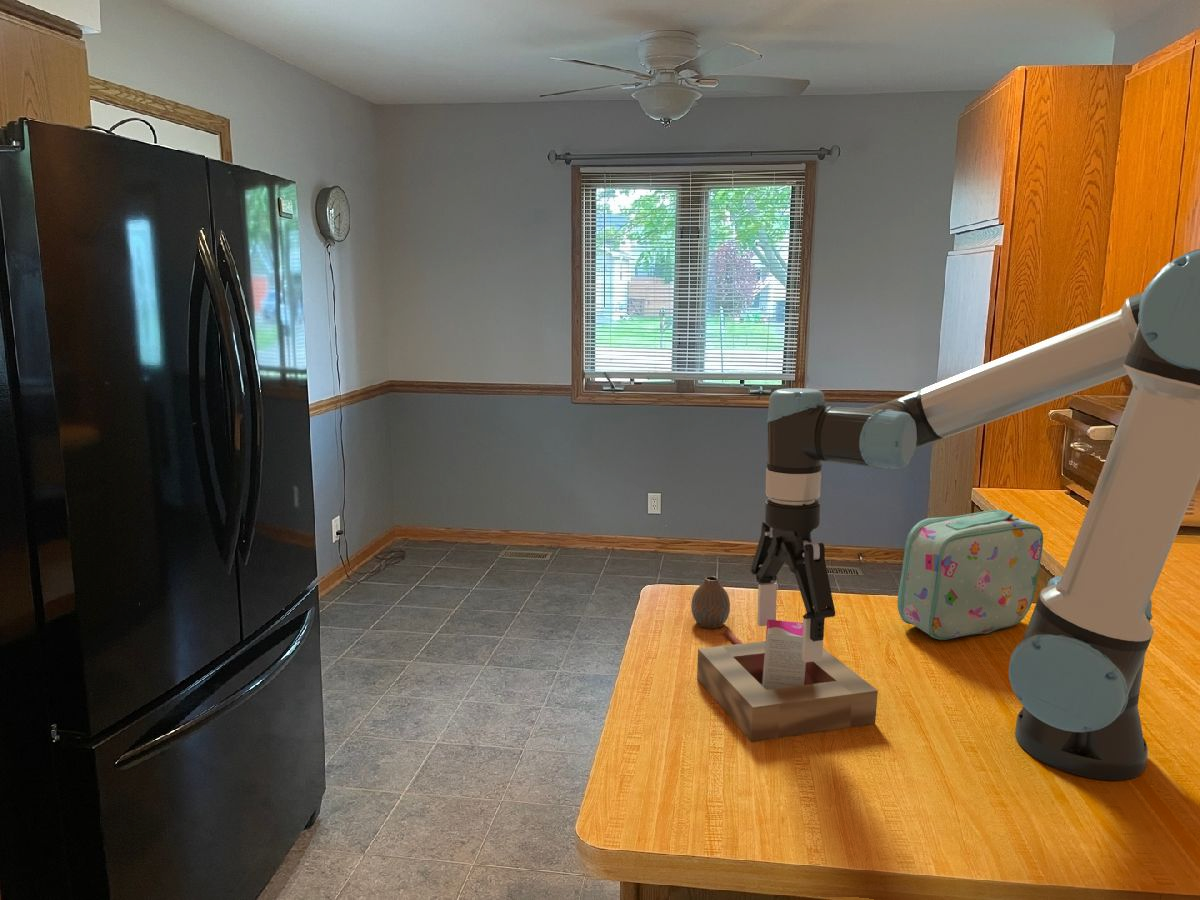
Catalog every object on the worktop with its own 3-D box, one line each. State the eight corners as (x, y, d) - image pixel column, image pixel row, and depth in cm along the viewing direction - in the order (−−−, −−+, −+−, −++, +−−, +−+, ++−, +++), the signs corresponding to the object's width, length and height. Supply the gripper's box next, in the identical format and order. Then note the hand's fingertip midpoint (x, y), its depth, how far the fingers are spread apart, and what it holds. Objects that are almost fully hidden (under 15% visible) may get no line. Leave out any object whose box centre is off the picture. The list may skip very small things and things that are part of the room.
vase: (686, 628, 148) (687, 581, 146) (696, 614, 154) (698, 569, 153) (723, 634, 145) (725, 587, 144) (733, 620, 152) (735, 575, 150)
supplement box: (803, 712, 119) (808, 637, 117) (761, 708, 120) (765, 633, 118) (801, 693, 124) (805, 621, 122) (761, 689, 125) (764, 618, 123)
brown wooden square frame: (875, 723, 116) (877, 690, 115) (751, 741, 111) (752, 707, 110) (806, 665, 134) (808, 636, 133) (696, 678, 129) (698, 648, 128)
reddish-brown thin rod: (759, 663, 134) (760, 657, 134) (754, 664, 134) (754, 658, 134) (727, 633, 146) (728, 627, 146) (722, 633, 146) (722, 628, 146)
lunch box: (992, 605, 161) (1003, 498, 157) (1040, 624, 152) (1053, 511, 148) (888, 627, 149) (898, 512, 145) (933, 649, 140) (945, 527, 136)
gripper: (867, 518, 106) (859, 674, 109) (775, 479, 129) (771, 609, 133) (814, 522, 104) (808, 681, 107) (731, 482, 127) (728, 614, 131)
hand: (788, 641), depth 120 cm, fingers open, 13 cm apart
